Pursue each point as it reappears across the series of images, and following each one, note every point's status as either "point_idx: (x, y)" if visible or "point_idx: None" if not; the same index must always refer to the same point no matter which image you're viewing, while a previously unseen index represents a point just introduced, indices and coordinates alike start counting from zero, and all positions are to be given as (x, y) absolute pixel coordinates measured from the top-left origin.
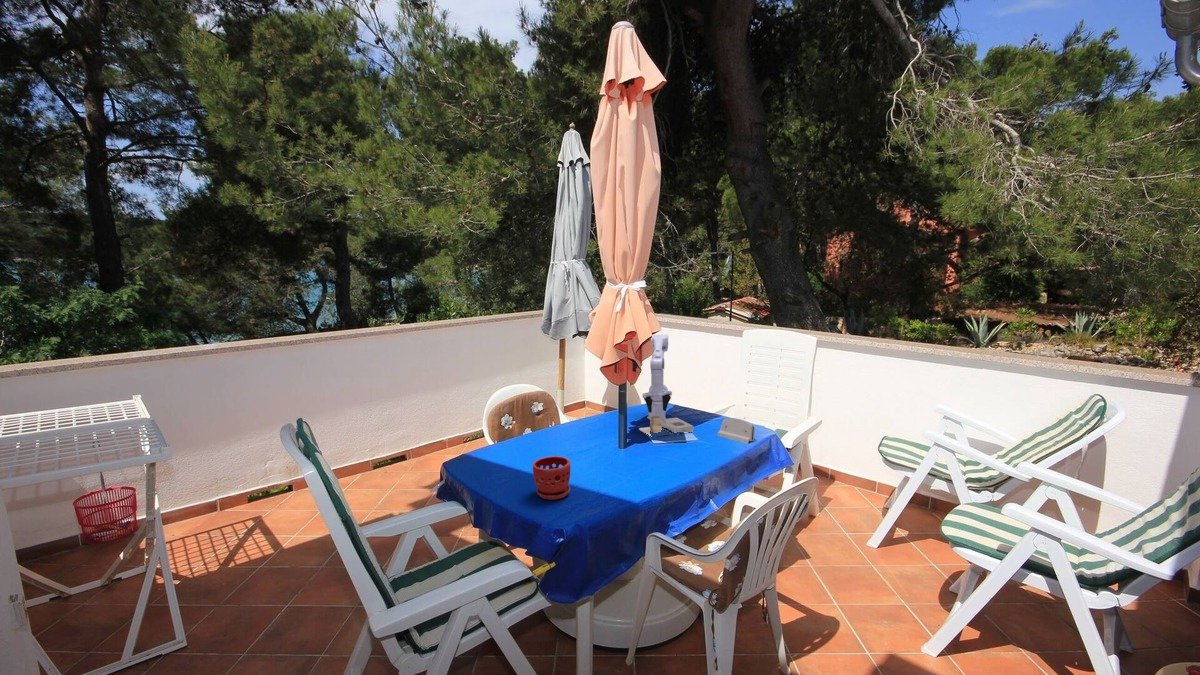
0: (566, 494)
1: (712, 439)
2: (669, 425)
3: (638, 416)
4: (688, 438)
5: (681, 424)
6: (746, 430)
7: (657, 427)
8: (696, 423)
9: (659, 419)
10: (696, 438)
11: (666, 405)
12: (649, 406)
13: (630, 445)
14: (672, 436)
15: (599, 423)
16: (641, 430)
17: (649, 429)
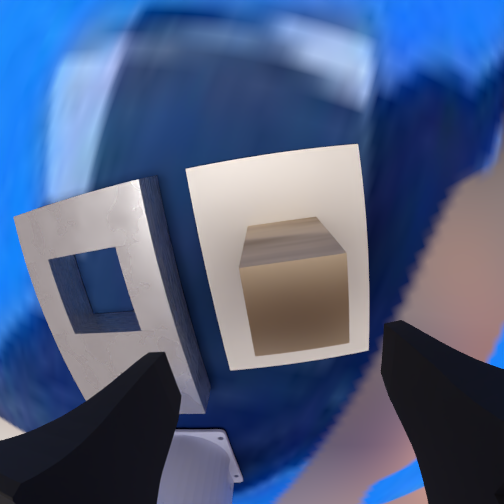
0: None
1: (3, 71)
2: (159, 276)
3: (272, 493)
4: (96, 84)
5: (74, 310)
6: None
7: (287, 231)
8: (22, 349)
9: (267, 260)
10: (56, 84)
11: (111, 394)
12: (473, 359)
13: (495, 67)
14: (185, 140)
15: None
16: (367, 314)
17: None
